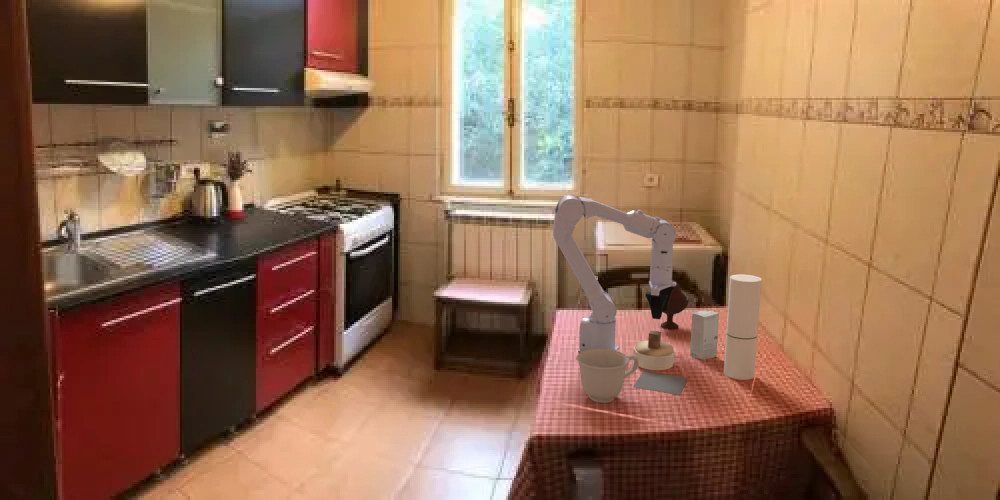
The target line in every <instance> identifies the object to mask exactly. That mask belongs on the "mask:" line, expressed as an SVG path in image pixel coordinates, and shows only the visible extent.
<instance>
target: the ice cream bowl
mask: <svg viewBox="0 0 1000 500" xmlns="http://www.w3.org/2000/svg"><path fill="white" fill-rule="evenodd" d="M672 282H676V286H675V287H674V289H673V291H672V293H671V296H670V299H669V303H668V307H667V310H666V311H662V314H663V313H664V314H665V315H666V321H664V322H662V323H661V324H660V328H661V329H663V330H670V331H671V330H678V329H679V328H678V327H679V324H677V323H676V322H674V319H673V318H674V315H677V314H680V313H681V312H683V311H684V310H686V309H687V307H688V305H689V301H690V296H689V295H686V294H685V293H684V292H683V291H682V288H681V286H680V284H679V283H677V281H675V279H672Z"/></svg>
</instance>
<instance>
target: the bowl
mask: <svg viewBox="0 0 1000 500" xmlns="http://www.w3.org/2000/svg"><path fill="white" fill-rule="evenodd" d="M632 349H633V350H632V355H635V356H636V357H637V358H638V362H639V365H638V368H642V369H645V370H648V371H663V370H668V369H670V368H673V366H674V363H675V361H674V360H675V349H673V353H672V354H670V355H667V356H648V355H644V354H641V353H639V352H637V351H636V350H635V346H633V348H632ZM632 362H633V364H634V360H633V359H632Z"/></svg>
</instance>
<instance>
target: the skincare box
mask: <svg viewBox="0 0 1000 500" xmlns="http://www.w3.org/2000/svg"><path fill="white" fill-rule="evenodd" d="M691 314H692V315H691V332H690V333H691V334H690V351H689V353H690V354H689V356H690V357H692V358H697V359H699V360H710V359H712V358H716V357H717V356H718V354H717V353H718V341H719V340H718V338H719V317H720V313H719V312H717V311H712V310H708V309H705V310H699V311H696V312H692V313H691Z"/></svg>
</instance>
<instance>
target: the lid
mask: <svg viewBox="0 0 1000 500" xmlns="http://www.w3.org/2000/svg"><path fill="white" fill-rule="evenodd" d="M661 335H662V331H657V330H650V331H649V333H648V338H647V339H648V340H640V341H638V342H636V343H635V345H634V347H635V350H636V351H637V352H639V353H641V354H644V355H648V356H667V355H670V354H672V353H673V350H674V346H673V345H672V344H670V343H669V342H665V341H661V337H662V336H661Z"/></svg>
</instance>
